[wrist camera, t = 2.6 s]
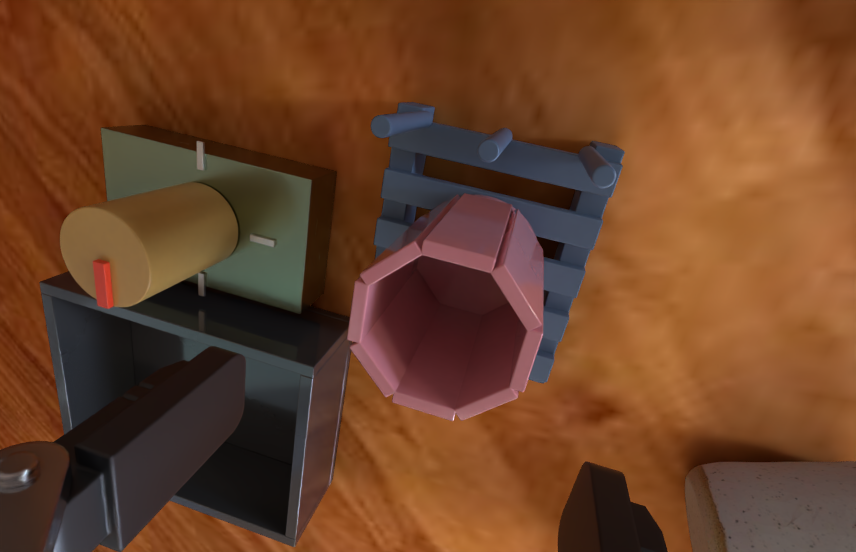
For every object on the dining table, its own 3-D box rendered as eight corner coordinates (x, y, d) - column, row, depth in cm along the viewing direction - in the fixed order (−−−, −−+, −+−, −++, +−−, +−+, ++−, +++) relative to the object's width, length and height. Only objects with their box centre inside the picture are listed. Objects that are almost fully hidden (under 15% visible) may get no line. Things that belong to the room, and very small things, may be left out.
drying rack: (412, 101, 23) (338, 103, 15) (617, 145, 21) (661, 175, 13) (377, 312, 28) (307, 403, 19) (544, 360, 26) (543, 479, 18)
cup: (425, 180, 21) (362, 223, 14) (556, 212, 20) (563, 275, 13) (403, 296, 23) (339, 386, 16) (520, 329, 23) (508, 439, 15)
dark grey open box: (123, 251, 30) (38, 281, 25) (355, 318, 28) (314, 367, 23) (136, 411, 36) (68, 463, 31) (333, 479, 33) (294, 547, 28)
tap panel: (144, 114, 27) (96, 116, 24) (338, 160, 25) (311, 168, 22) (152, 252, 30) (110, 268, 27) (323, 301, 28) (298, 324, 25)
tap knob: (164, 173, 24) (45, 196, 18) (239, 193, 23) (141, 223, 18) (167, 251, 26) (59, 294, 20) (237, 271, 25) (147, 322, 19)
